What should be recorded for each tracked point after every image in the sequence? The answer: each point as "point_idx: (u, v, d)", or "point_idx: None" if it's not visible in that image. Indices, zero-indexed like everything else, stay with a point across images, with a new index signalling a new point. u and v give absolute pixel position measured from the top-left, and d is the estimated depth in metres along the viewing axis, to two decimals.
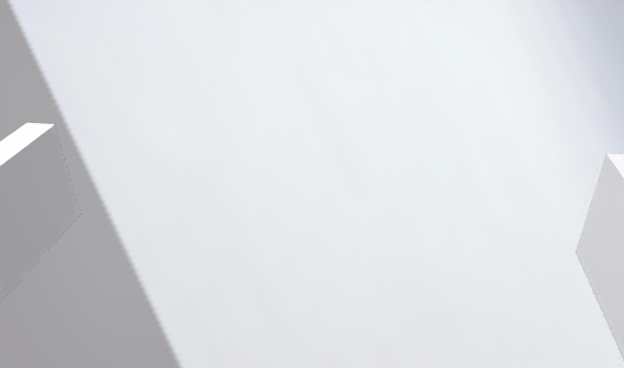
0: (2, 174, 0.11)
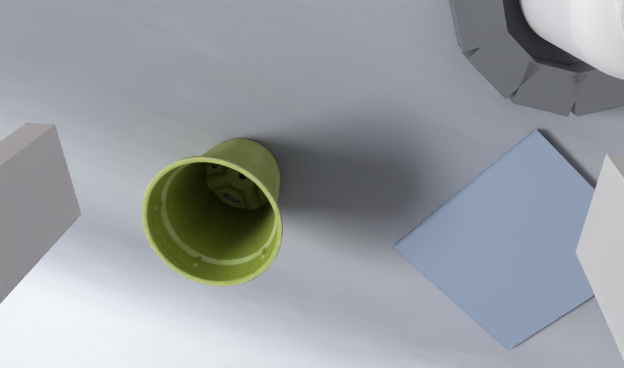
0: (2, 174, 0.11)
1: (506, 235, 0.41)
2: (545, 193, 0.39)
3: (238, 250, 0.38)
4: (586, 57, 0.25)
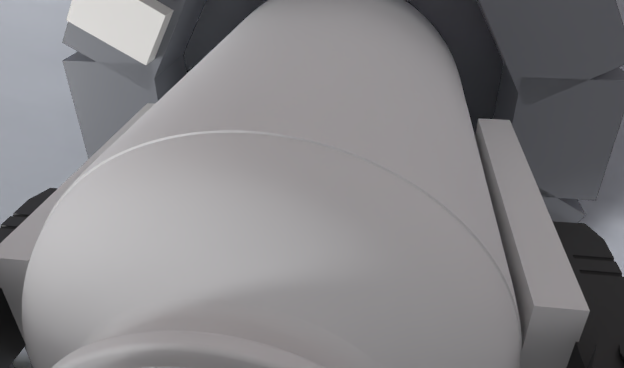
0: None
1: None
2: None
3: None
4: None
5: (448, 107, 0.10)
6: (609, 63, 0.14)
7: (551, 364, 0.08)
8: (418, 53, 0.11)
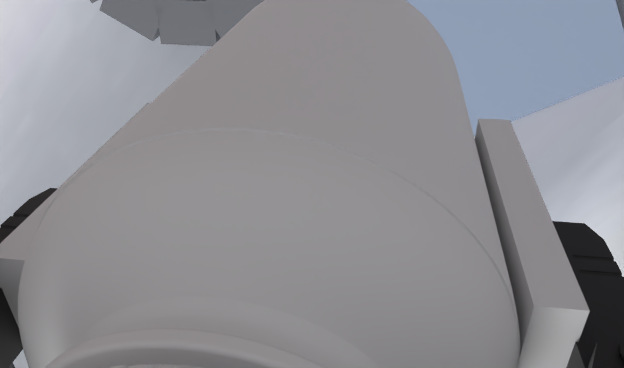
0: None
1: (457, 37, 0.33)
2: None
3: None
4: None
5: (446, 105, 0.10)
6: None
7: (551, 364, 0.08)
8: (416, 51, 0.11)
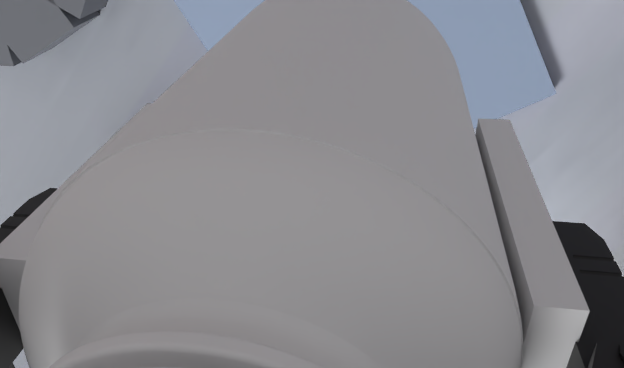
0: None
1: None
2: None
3: None
4: None
5: (448, 106, 0.10)
6: None
7: (551, 364, 0.08)
8: (418, 51, 0.11)
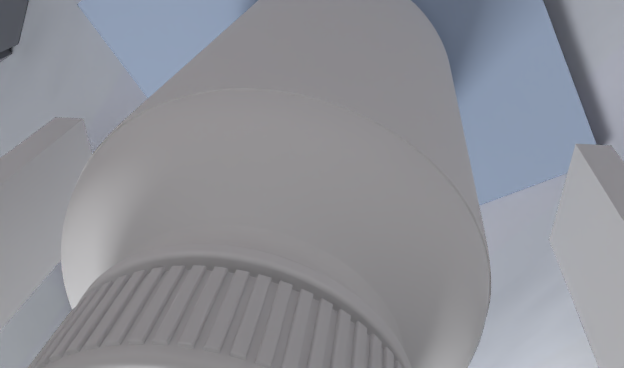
0: (36, 166, 0.12)
1: None
2: (211, 12, 0.18)
3: None
4: None
5: (432, 80, 0.11)
6: None
7: None
8: (407, 34, 0.13)
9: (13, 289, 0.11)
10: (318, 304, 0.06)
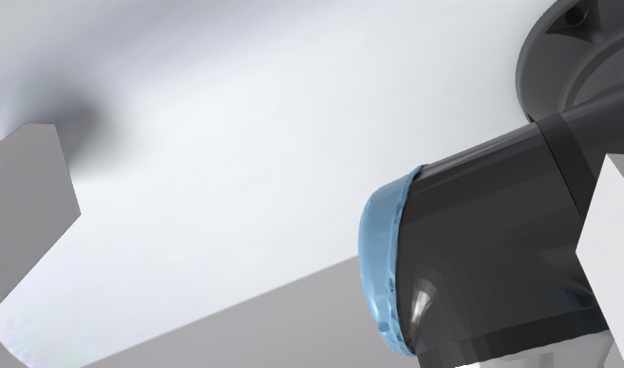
0: (2, 174, 0.11)
1: None
2: None
3: None
4: None
5: None
6: None
7: None
8: None
9: None
10: None
